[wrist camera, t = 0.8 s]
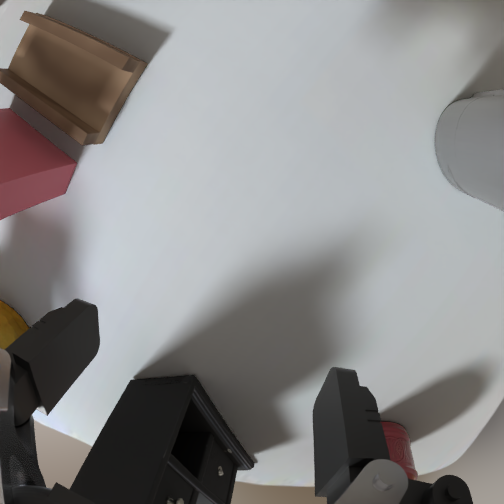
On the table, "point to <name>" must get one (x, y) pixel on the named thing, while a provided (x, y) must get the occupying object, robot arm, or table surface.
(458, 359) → the table surface
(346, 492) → the robot arm
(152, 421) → the bookend
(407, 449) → the canister
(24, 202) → the book
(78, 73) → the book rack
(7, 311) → the pitcher
